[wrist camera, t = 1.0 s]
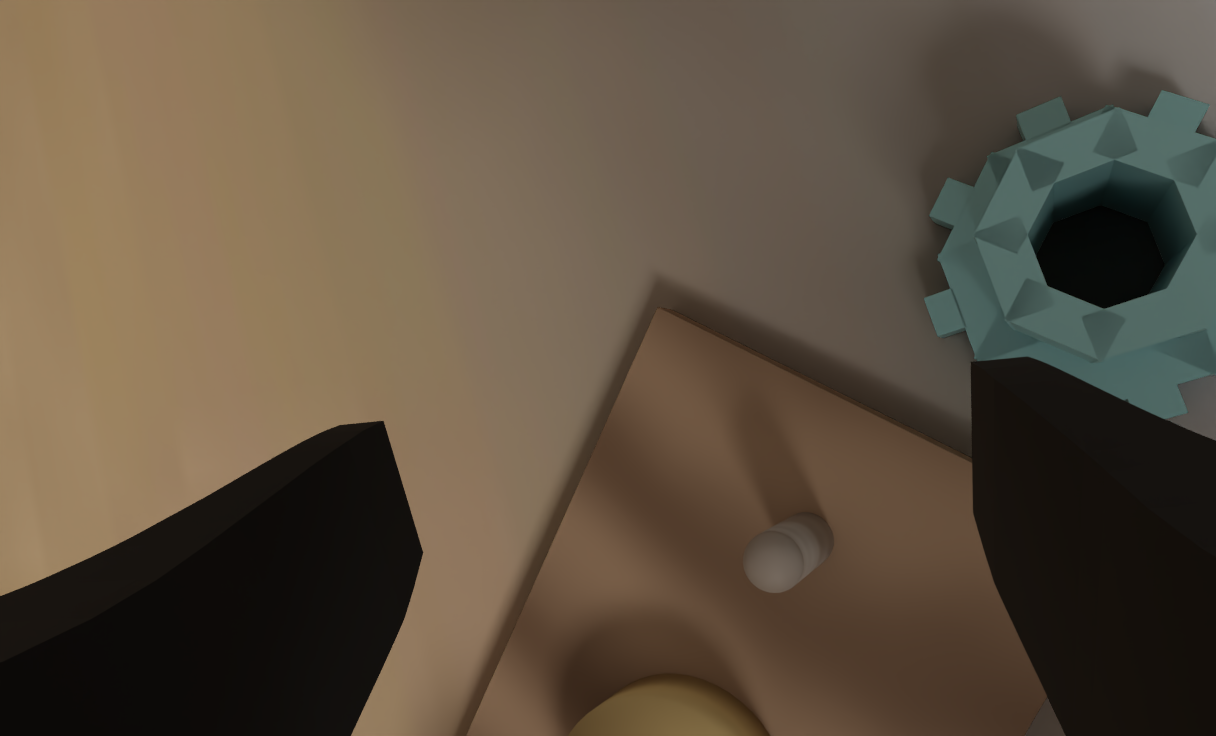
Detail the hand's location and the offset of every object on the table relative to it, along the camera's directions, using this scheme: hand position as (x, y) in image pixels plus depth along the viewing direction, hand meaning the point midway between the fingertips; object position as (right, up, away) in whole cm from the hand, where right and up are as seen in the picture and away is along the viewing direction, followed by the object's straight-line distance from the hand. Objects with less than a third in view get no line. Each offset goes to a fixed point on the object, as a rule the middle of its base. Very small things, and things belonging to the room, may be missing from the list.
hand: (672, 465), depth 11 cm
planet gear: (+11, +4, +11) cm, 16 cm away
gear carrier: (+2, -10, +15) cm, 18 cm away
